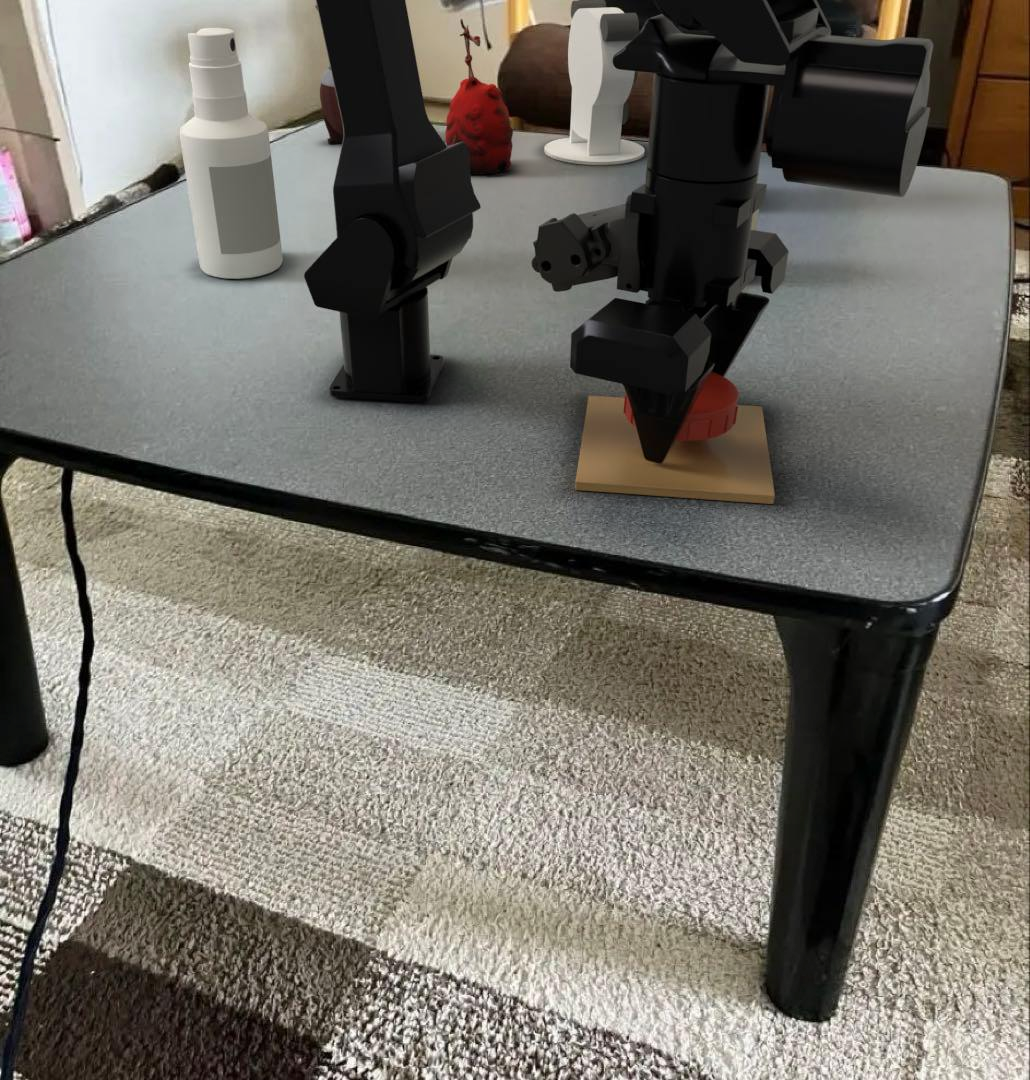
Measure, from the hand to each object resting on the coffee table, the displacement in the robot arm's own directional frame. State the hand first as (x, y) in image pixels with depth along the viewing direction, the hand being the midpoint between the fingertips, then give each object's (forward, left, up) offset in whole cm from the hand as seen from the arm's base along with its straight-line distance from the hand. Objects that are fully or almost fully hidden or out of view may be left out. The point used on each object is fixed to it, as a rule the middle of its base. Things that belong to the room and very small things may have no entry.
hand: (674, 436), depth 64 cm
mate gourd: (+69, +37, -1) cm, 78 cm away
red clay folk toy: (+60, +21, -1) cm, 64 cm away
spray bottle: (+27, +36, -1) cm, 45 cm away
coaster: (0, 0, -1) cm, 1 cm away
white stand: (+69, +9, -1) cm, 70 cm away
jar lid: (0, 0, +3) cm, 3 cm away
